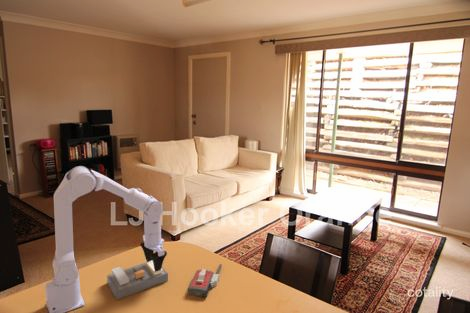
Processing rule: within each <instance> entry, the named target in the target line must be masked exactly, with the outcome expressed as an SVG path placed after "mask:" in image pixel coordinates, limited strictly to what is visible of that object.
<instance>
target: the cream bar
mask: <svg viewBox="0 0 470 313" xmlns="http://www.w3.org/2000/svg"><path fill="white" fill-rule="evenodd" d="M144 263H145V264H146V266H147V267H148V268H149V269H150V270H151V271H152V273H153V274H154V275H157V274H160V273H163V269H164V268H163V269H162V268H161V270H159V271H155V269H154V264H153V260H151V261H148V262H147V261H146V260H145V261H144Z"/></svg>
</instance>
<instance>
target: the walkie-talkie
mask: <svg viewBox="0 0 470 313" xmlns="http://www.w3.org/2000/svg"><path fill="white" fill-rule="evenodd" d="M222 265H223V264H222V263H220V264H219V265H218V268H217V270H216V273H214V272H213V271H212V270H208V269H204V268H201V269H198V270H196V271H195V273H194V276H193V278H192V280H191V282H190V284H189V286H188V289H187V290H188V293H187V294H188V295H189V296H195V297H200V298H201V297H202V298H207V297H208V295H209V292H210V289H212V288H214V287H216V286H217V285H218V282H219V280H220V272H221V269H222V267H223V266H222Z"/></svg>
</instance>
